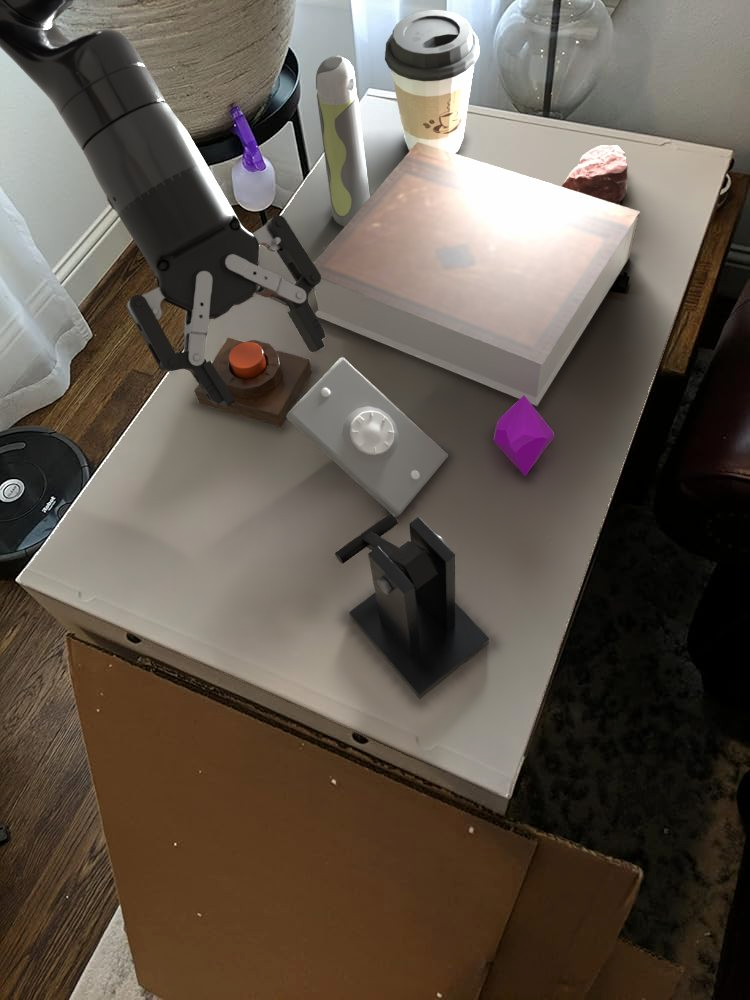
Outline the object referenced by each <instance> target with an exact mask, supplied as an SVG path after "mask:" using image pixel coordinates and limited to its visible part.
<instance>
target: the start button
mask: <svg viewBox="0 0 750 1000" xmlns="http://www.w3.org/2000/svg"><path fill="white" fill-rule="evenodd" d="M243 342H244V343H241V344H238V345H237V346H235V347H234V348H233V349H232V350H231V352H230V354H229V361H230V364H231V367H232V370H233V372H234V374H235V375H236V376H238V377H240V378H243V379H251V378H255V377H257V376H259V375H260V374H261V373H262V372H263V371H264V369H265V367H266V360H265V357H264V353H263V350H262V348H261V347H260V346H259V345H258V344H256V343H252V342H245V341H243Z"/></svg>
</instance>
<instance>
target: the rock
mask: <svg viewBox="0 0 750 1000" xmlns="http://www.w3.org/2000/svg"><path fill="white" fill-rule="evenodd" d="M625 155H626V153H625V151H624V150H622V148H621V147H620V146H619V145H617V144H614V145H607V144H605V145H604V144H602V145H599V146H596V147H594V148H592V149H590V150H588V151H587V152H585V153H584V154H582V156H581V157H580V159H579V160H578V164H577V166H575V167H574V168H573V169H572V170H571V171H570V172H569V173H568V176H566V178H565V180H564V181H563V182H562V185H561V187H563V188H566V189H569V190H573V191H576V192H579V193H582V194H585V195H589V196H592V197H595V198H598V199H602V200H605V201H608V202H611V203H614V204H618V205H620V203H621V201H622V200H624V198H625V196H626V193H627V190H628V186H627V181H628V179H629V178H628V177H629V165H628V159H627V157H626V156H625Z"/></svg>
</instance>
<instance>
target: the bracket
mask: <svg viewBox="0 0 750 1000" xmlns="http://www.w3.org/2000/svg"><path fill="white" fill-rule="evenodd" d="M408 526H409V527H408V529H409V541H411V542H412V543H414V544H416V545H418V546H420V547H422V548H424V549H426V550H427V552H428V554H429V556H430V558H431V560H432V562H433V564H434V566H435V568H436V570H437V572H438V574H437V575H436V576H434V577H433V578H432V579H430V580H429V581H428V582H426V583H425V584H424V585H422V586H421V587H420V588H418V589H417V590H416V589H415V586H414V585H413V584H412V582H411V581H410V580H409V579H408V578H407V577H406V576H405V575H404V574H403V573H402V572H401V570H400V569H399V568H398V567H397V566H396V565H395V564H394V563H393V562H392V561H391V560H390V559H389V557H388V556H387V555H386V554H385V553H384V552H383V551H382V550H381V549H380V548H379V547H378V546H377V547H376V548H375V549H373V550H370V551H369V552H368V553H367V555H368V563H369V568H370V571H371V572H370V573H371V578H372V584H373V589H374V592H373V594H371V595H370V596H368V597H367V598H366V599H365V600H363V601H362V602H360V603H359V604H357V606H355V607H354V608H352V609H351V610H350V611H348V616H349V618H350V619H351V621H352V622H353V623H354V624H355V626H357V628H358V629H359V630H360V631H361V633H362V634H363V635H364V636H365V637H366V638H367V639H368V641H369V642H370V644H371V645H372V646H373V647H374V648H375V649H376V650H377V651H378V652H379V654H380V655H381V656H382V657H383V658H384V660H385V661H386V662H387V663H388V665H390V667H391V668H392V669H393V670H394V672H395V673H396V674H397V675H398V676H399V677H400V678H401V680H402V681H403V682H404V683H405V684H406V685H407V687H408V688H409V689H410V690H411V691H412V692H413V694H414V695H415V696H416V697H417V699H419V700H421V699H422V698H424V697H425V696H426V695H427V694H429V693H430V692H431V691H432V690H433V689H435V688H436V687H437V686H438V685H440V684H441V683H442V682H443V681H445V680H446V679H447V678H448V677H449V676H451V675H452V674H453V673H455V672H456V671H458V669H459V668H461V667H462V666H464V665H465V664H466V663H467V662H468V661H469V660H471V659H472V658H473V657H474V656H476V655H477V654H478V653H479V652H481V650H483V649H484V648H486V647H487V646H488V645H489V644H490V637H489V636H487V634H486V633H485V632H484V631H483V629H481V628H480V627H479V626H478V625H477V624H476V622H474V620H472V618H471V617H470V616H469V615H468V614H467V613H466V612H465V611H464V610H463V609H462V608H461V606H460V605H459V604H458V603H456V553H454V551H452V549H451V548H450V547H449V546H448V545H447V543H446V541H445V540H444V538H443V537H441V536H440V535H438V534H436V533H435V532H434V531H433V530H432V529H431V527H429V526H428V524H427V523H426V522H424V521H423V519H421V517H420V516H417V517H416V518H414V519H413V520H412V521H411V522H409V523H408Z"/></svg>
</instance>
